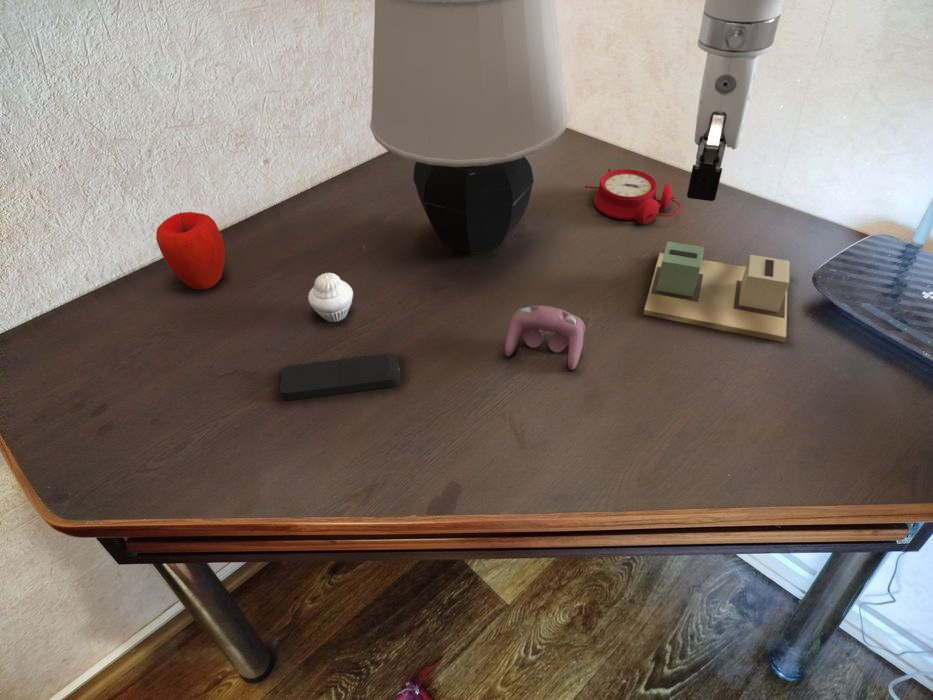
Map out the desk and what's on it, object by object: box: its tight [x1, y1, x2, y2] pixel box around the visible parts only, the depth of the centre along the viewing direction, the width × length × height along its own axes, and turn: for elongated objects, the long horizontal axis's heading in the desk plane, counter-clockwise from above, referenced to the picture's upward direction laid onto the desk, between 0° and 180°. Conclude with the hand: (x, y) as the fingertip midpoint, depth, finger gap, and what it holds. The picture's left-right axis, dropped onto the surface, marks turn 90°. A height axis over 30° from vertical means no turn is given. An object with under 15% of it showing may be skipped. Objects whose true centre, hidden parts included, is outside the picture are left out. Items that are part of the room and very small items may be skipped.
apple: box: [155, 211, 226, 290], centre depth 94 cm, size 9×9×11 cm
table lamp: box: [369, 0, 570, 255], centre depth 88 cm, size 27×27×40 cm
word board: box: [643, 252, 788, 343], centre depth 89 cm, size 18×14×1 cm
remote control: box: [279, 352, 402, 401], centre depth 81 cm, size 5×2×15 cm
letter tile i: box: [656, 240, 705, 297], centre depth 89 cm, size 5×5×5 cm
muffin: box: [307, 272, 354, 323], centre depth 88 cm, size 6×6×7 cm
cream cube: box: [739, 254, 791, 312], centre depth 86 cm, size 5×5×5 cm
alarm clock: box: [584, 168, 682, 225], centre depth 106 cm, size 10×6×15 cm
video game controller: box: [504, 305, 586, 371], centre depth 82 cm, size 10×5×7 cm, turn 71°
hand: (704, 178), depth 79 cm, fingers open, 9 cm apart
